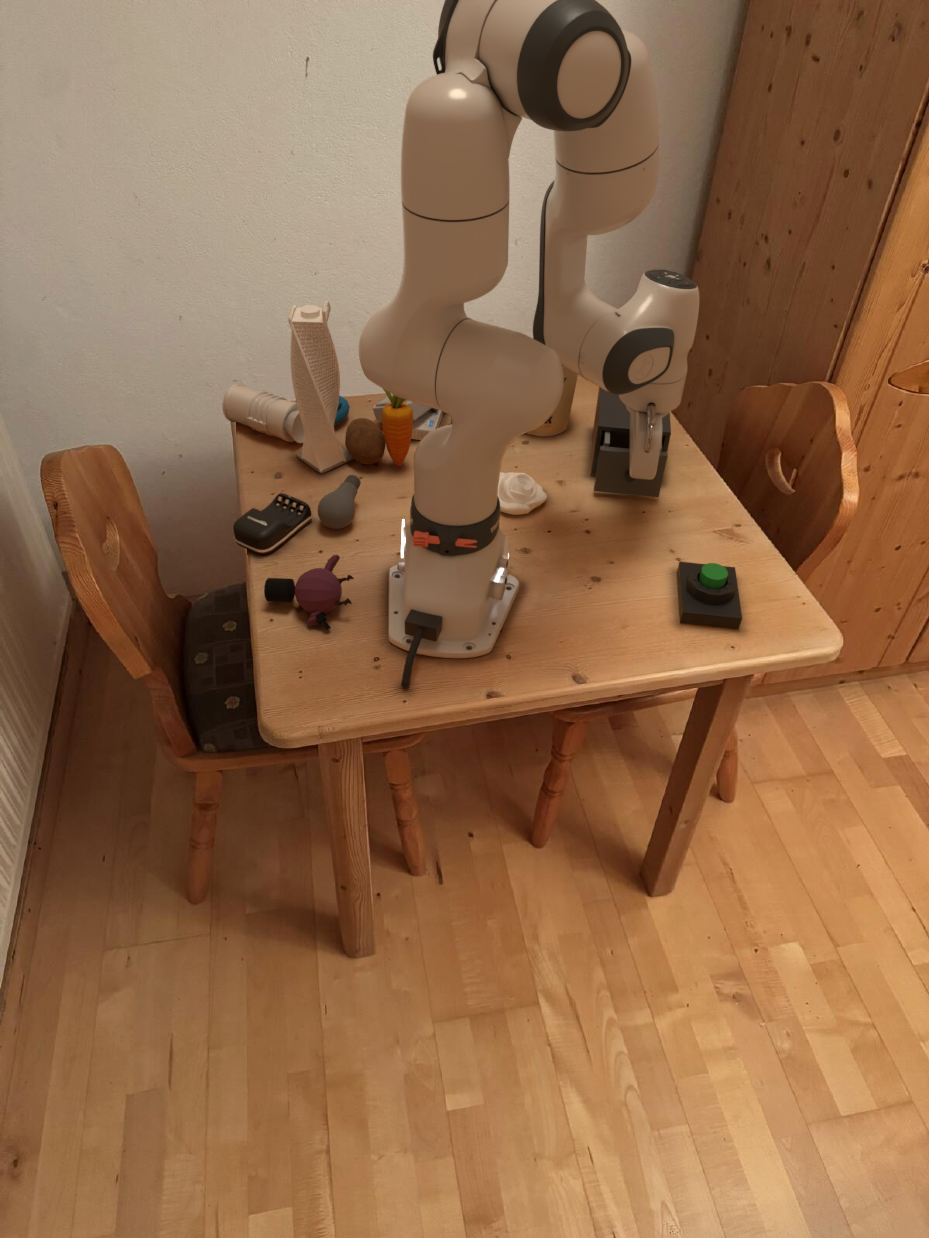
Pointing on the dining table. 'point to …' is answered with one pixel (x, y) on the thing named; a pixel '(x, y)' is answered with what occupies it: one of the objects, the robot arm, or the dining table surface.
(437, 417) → the ink cartridge box
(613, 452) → the drawer
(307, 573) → the figurine
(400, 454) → the carrot
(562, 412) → the coffee cup
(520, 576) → the dining table surface
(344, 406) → the ornament
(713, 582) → the button
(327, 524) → the light bulb
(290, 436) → the white ribbed cylinder
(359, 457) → the potato
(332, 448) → the skyscraper
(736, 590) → the control block
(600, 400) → the cabinet
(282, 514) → the battery charger
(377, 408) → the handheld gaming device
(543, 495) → the rose
